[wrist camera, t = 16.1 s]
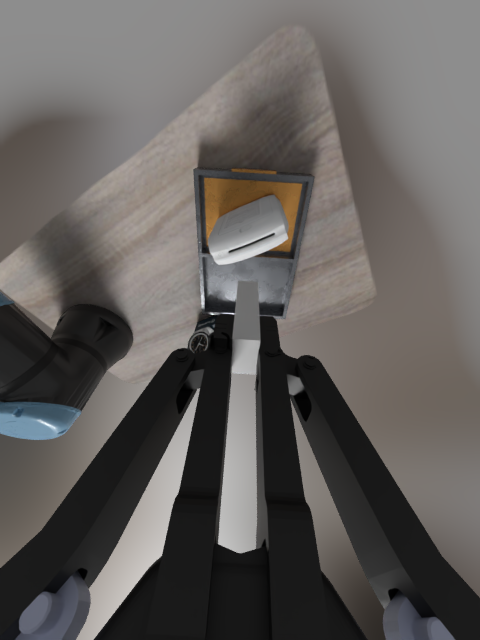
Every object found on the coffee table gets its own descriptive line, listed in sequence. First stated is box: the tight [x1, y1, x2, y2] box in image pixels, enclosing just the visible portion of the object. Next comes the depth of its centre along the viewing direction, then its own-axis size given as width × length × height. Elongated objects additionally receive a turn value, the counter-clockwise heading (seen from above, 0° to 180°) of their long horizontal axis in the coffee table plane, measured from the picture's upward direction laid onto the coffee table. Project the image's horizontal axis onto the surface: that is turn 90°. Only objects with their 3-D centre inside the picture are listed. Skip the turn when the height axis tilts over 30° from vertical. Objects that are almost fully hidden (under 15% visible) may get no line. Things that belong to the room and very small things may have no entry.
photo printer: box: [208, 195, 289, 265], centre depth 32 cm, size 10×4×12 cm, turn 113°
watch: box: [187, 315, 219, 353], centre depth 47 cm, size 6×8×11 cm
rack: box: [193, 167, 314, 319], centre depth 40 cm, size 16×24×3 cm
